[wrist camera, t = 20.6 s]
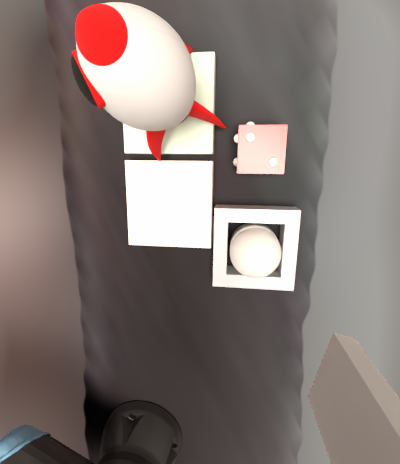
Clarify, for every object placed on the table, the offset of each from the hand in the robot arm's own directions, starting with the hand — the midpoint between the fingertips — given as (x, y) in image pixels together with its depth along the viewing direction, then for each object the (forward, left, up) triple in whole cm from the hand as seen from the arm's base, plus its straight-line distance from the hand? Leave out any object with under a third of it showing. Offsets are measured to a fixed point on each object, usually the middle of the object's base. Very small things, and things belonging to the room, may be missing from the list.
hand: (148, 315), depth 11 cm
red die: (+10, -1, -35) cm, 37 cm away
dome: (-2, -9, -34) cm, 36 cm away
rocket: (+7, +12, -33) cm, 36 cm away
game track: (+1, +9, -35) cm, 37 cm away
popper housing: (-2, -9, -35) cm, 37 cm away
